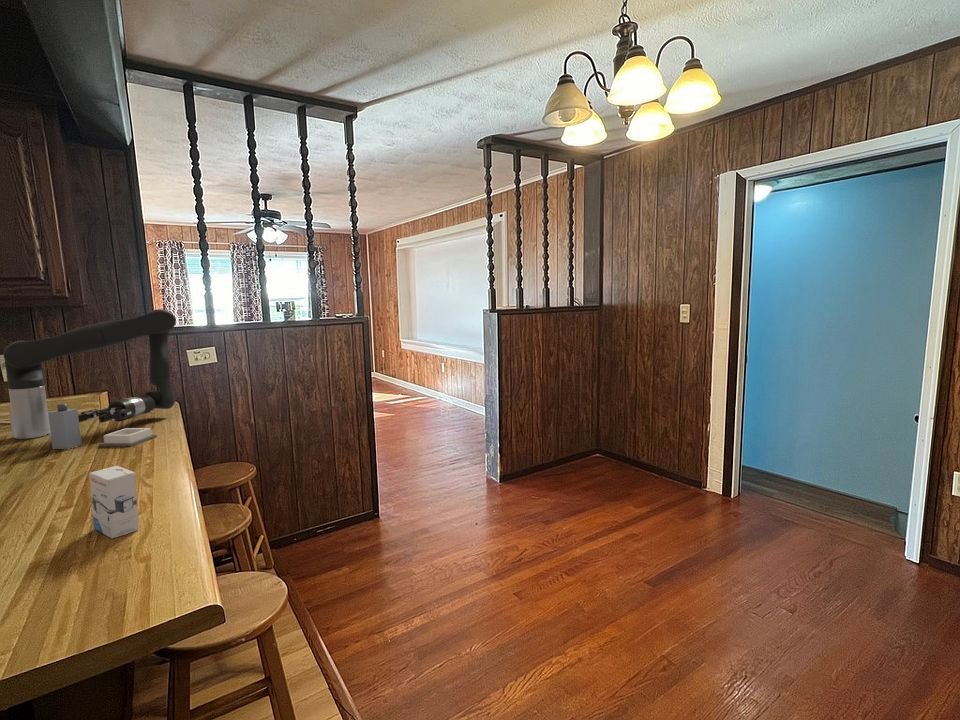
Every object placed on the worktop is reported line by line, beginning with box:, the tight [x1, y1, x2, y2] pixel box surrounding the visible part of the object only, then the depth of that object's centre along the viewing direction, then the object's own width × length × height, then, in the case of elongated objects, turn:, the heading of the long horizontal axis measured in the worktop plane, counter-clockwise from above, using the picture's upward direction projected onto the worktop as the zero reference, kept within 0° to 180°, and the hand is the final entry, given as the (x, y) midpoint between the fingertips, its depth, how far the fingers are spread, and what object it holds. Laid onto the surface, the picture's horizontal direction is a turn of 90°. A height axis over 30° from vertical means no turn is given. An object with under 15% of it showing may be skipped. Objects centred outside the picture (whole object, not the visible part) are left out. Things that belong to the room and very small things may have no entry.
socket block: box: [98, 427, 158, 447], centre depth 161 cm, size 11×11×3 cm
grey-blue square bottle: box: [48, 403, 83, 450], centre depth 155 cm, size 5×5×14 cm
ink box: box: [88, 465, 140, 539], centre depth 97 cm, size 9×5×12 cm, turn 58°
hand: (88, 419), depth 163 cm, fingers open, 8 cm apart
